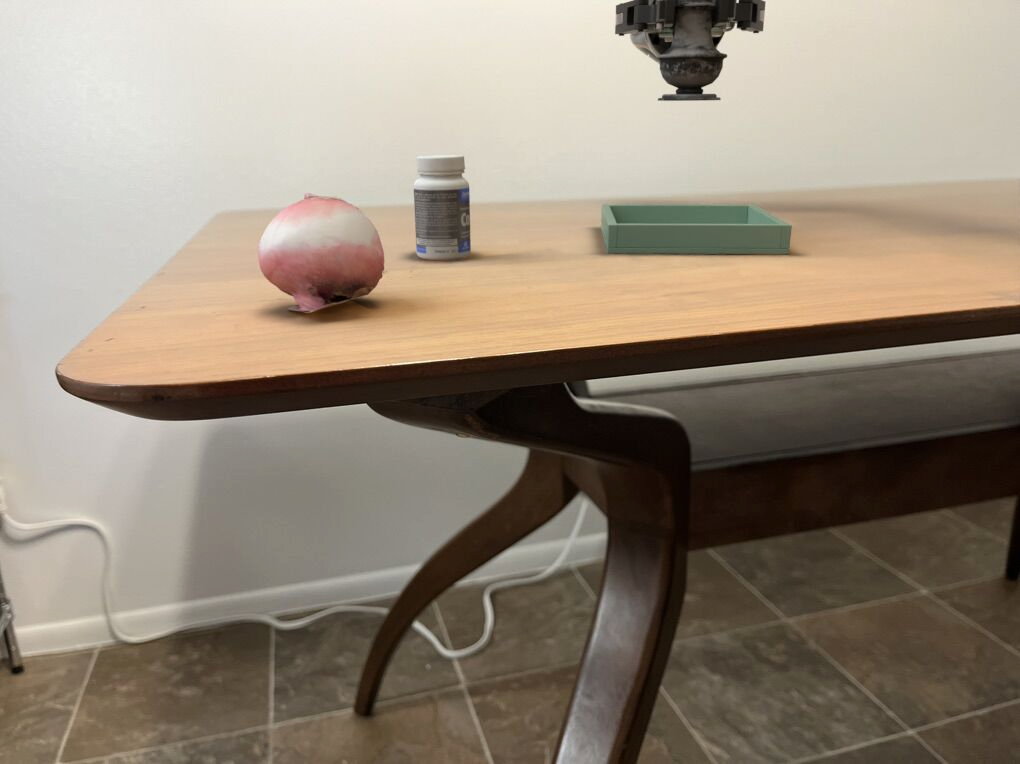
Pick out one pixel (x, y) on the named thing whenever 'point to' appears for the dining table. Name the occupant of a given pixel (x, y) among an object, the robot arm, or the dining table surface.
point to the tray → (693, 229)
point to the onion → (321, 253)
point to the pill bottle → (442, 208)
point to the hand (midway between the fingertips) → (697, 8)
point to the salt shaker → (691, 53)
